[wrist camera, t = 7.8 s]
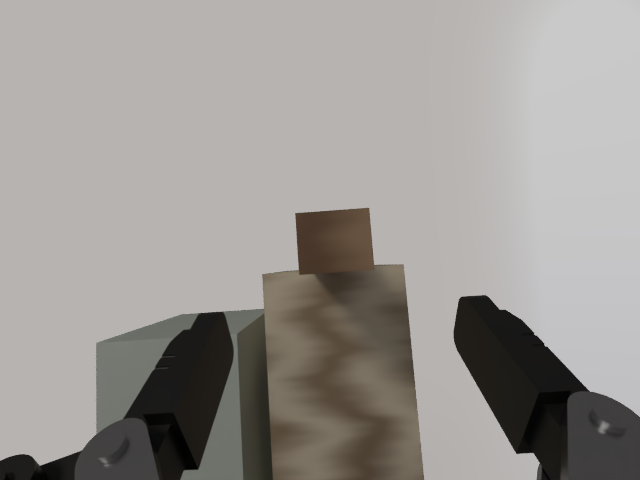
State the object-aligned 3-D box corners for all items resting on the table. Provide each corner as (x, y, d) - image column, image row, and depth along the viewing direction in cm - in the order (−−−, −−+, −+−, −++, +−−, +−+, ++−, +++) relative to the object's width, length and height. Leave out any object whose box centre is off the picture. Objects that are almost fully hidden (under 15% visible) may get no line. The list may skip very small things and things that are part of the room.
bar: (299, 274, 12) (295, 213, 12) (317, 268, 34) (316, 247, 34) (374, 269, 12) (369, 207, 12) (343, 267, 33) (341, 245, 34)
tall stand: (289, 799, 18) (262, 274, 21) (304, 584, 30) (286, 271, 33) (453, 793, 18) (403, 264, 20) (402, 580, 30) (375, 264, 32)
